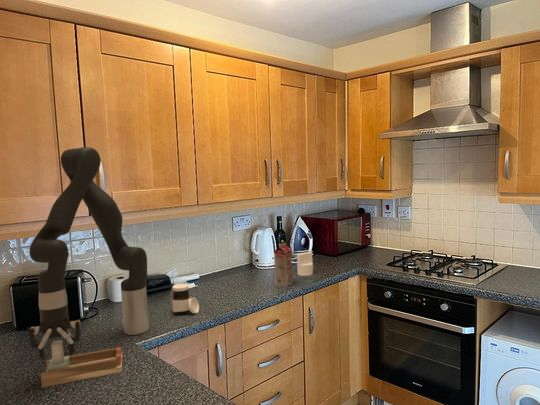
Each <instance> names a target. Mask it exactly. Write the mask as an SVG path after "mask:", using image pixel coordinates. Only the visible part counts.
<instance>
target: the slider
mask: <svg viewBox="0 0 540 405" xmlns="http://www.w3.org/2000/svg"><path fill="white" fill-rule="evenodd" d="M50 348H51V360H50V359H49V360H50V363H49V365H48V368H47V367H46V370H47V369H48V371H49V370H55V369H60V368H66V367H69V365H70V363H69V356H70V355H66V356H65V351H64V342H63V340H54V341H52V342H51V343H50Z"/></svg>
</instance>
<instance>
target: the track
mask: <svg viewBox="0 0 540 405" xmlns="http://www.w3.org/2000/svg"><path fill="white" fill-rule="evenodd" d="M68 356H69V363H70V365H69V367H66V368H60V369H55V370H49V371H48V369H47V368H48V365H49V363H50V360H51V359H52V358H51V359H46V360H45V364H46V365H45V366H46V370H44V371H41V372H40V378H41V380H40V381H41V382H40V383H41V388H47V387H53V386H58V385H63V384H68V383H73V382H77V381H83V380H88V379H93V378H99V377H102V376H103V377H104V376H108V375H115V374H118V373H122V372H123V353H122V350H121V346H119V347H113V348H106V349H103V350H97V351H91V352H85V353H79V354H73V355H71V356H70V355H68Z"/></svg>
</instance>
